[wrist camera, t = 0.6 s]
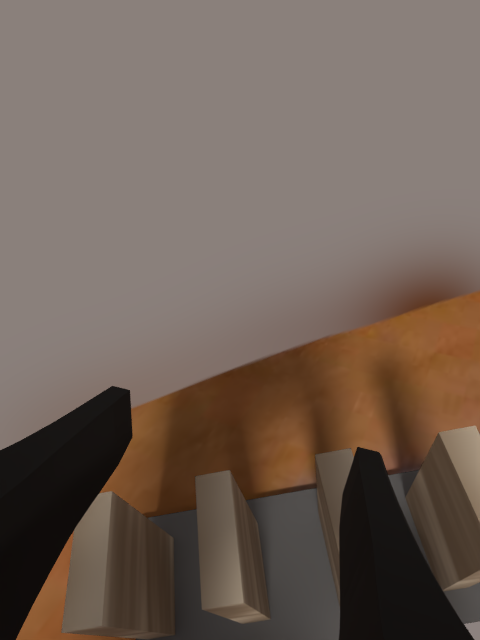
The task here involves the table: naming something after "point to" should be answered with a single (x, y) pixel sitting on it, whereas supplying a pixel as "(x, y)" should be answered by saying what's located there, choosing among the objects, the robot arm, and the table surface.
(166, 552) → the domino
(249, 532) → the domino
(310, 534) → the grey flat rectangular board
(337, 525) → the domino
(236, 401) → the table surface
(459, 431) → the domino
